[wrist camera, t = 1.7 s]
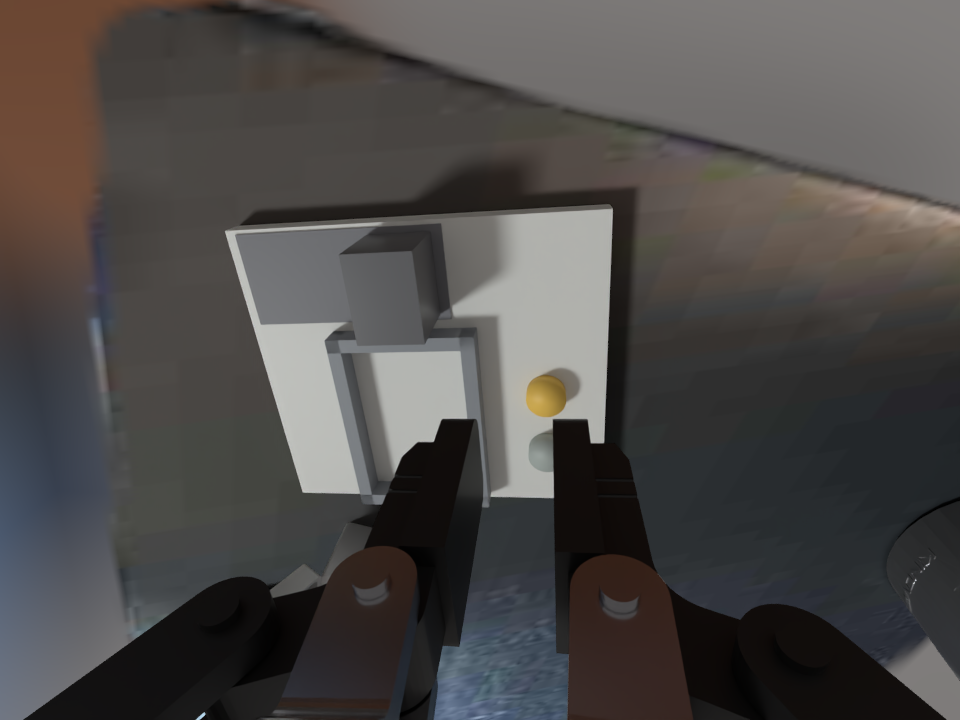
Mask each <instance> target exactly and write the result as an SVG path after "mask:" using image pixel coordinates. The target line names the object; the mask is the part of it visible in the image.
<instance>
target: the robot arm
mask: <svg viewBox="0 0 960 720" xmlns="http://www.w3.org/2000/svg"><path fill="white" fill-rule="evenodd" d="M553 473H554V533H555V592H556V652H557V653H562V654H569V663H568V712H567V720H946V719H945V718H944V717H943V716H941V715H940V714H939V713H938V712H937V711H935V710H934V709H933V708H932V707H931V706H929V705H928V704H927V703H926V702H925V701H923V700H922V699H921V698H920V697H919V696H917V695H916V694H915V693H914V692H912V691H911V690H910V689H909V688H908V687H906V686H905V685H904V684H903V683H902V682H900V681H899V680H898V679H897V678H896V677H894V676H893V675H892V674H891V673H890V672H888V671H887V670H886V669H885V668H884V667H882V666H881V665H880V664H879V663H878V662H876V661H875V660H874V659H873V658H871V657H870V656H869V655H868V654H867V653H865V652H864V651H863V650H862V649H861V648H859V647H858V646H857V645H856V644H855V643H853V642H852V641H851V640H850V639H849V638H847V637H846V636H845V635H844V634H842V633H841V632H840V631H839V630H838V629H836V628H835V627H834V626H832V625H831V624H830V623H828V622H827V621H825V620H823V619H822V618H820V617H818V616H816V615H814V614H812V613H810V612H808V611H805V610H803V609H800V608H797V607H793V606H789V605H782V604H766V605H761V606H758V607H755V608H753V609H751V610H750V611H748V612H747V613H746V614H745V615H744V616H743V617H742V618H741V620H739V619H736V618H733V617H730V616H727V615H724V614H720V613H717V612H714V611H711V610H708V609H705V608H703V607H700V606H697V605H695V604H693V603H691V602H689V601H687V600H685V599H684V598H682V597H681V596H679V595H678V594H676V593H675V592H674V591H673V590H672V589H670V588H669V587H668V586H667V584H666V583H665V582H664V581H663V579H662V578H661V577H660V576H659V575H658V573H657V571H656V569H655V567H654V564H653V561H652V557H651V552H650V548H649V544H648V539H647V535H646V531H645V526H644V522H643V518H642V513H641V509H640V505H639V500H638V499H637V492H636V487H635V483H634V481H633V474H632V470H631V466H630V462H629V459H628V458H627V457H626V456H625V454H624V453H623V452H622V451H621V450H620V449H619V448H618V447H617V445H616V444H615V443H591V440H590V433H589V425H588V419H553ZM394 475H395V477H394V478H393V479H392V482H391V484H390V486H389V489H388V493H387V494H386V496H385V499H384V501H383V503H382V506H381V508H380V511H379V513H378V515H377V518H376V520H375V523H374V525H373V527H372V530H371V532H370V535H369V537H368V539H367V542H366V544H365V547H364V549H363V550H360V551H358V552H356V553H354V554H352V555H351V556H349V557H348V558H346V559H345V560H344V561H342V562H341V563H340V564H339V565H338V566H337V567H336V568H335V570H334V571H333V573H332V574H331V576H330V578H329V580H328V582H327V583H326V584H324V585H321V586H319V587H315V588H312V589H308V590H304V591H300V592H295V593H291V594H287V595H283V596H279V597H274V598H273V597H272V595H271V592H270V590H269V588H268V586H267V585H266V584H265V583H264V582H262V581H261V580H259V579H256V578H253V577H235V578H230V579H227V580H223V581H221V582H218V583H216V584H214V585H212V586H210V587H208V588H206V589H205V590H203V591H202V592H200V593H199V594H197V595H196V596H195V597H193V598H192V599H190V600H189V601H188V602H186V603H185V604H183V605H182V606H181V607H179V608H178V609H176V610H175V611H174V612H172V613H171V614H169V615H168V616H167V617H165V618H164V619H163V620H161V621H160V622H158V623H157V624H156V625H154V626H153V627H151V628H150V629H149V630H147V631H146V632H144V633H143V634H142V635H140V636H139V637H138V638H136V639H135V640H133V641H132V642H131V643H129V644H128V645H126V646H125V647H124V648H122V649H121V650H119V651H118V652H117V653H115V654H114V655H113V656H111V657H110V658H108V659H107V660H106V661H104V662H103V663H101V664H100V665H99V666H98V667H96V668H95V669H93V670H92V671H90V672H89V673H88V674H86V675H85V676H83V677H82V678H81V679H79V680H78V681H76V682H75V683H74V684H72V685H71V686H69V687H68V688H67V689H65V690H64V691H63V692H61V693H60V694H59V695H57V696H56V697H54V698H53V699H52V700H50V701H49V702H48V703H46V704H45V705H43V706H42V707H40V708H39V709H38V710H36V711H35V712H33V713H32V714H31V715H29V716H28V717H27V718H25V719H24V720H196V719H197V718H198V717H199V716H200V715H201V714H202V713H204V712H205V714H206V715H205V716H204V717H203V718H202V719H200V720H434V713H435V706H436V699H437V690H438V683H437V672H438V667H439V662H440V656H441V651H442V646H457V647H459V645H460V639H461V633H462V626H463V620H464V614H465V608H466V602H467V596H468V590H469V584H470V577H471V571H472V565H473V559H474V553H475V547H476V541H477V535H478V528H479V522H480V516H481V510H482V503H483V471H482V460H481V450H480V439H479V429H478V422H477V420H476V419H442V420H441V422H440V425H439V428H438V431H437V434H436V437H435V440H434V442H417V443H416V444H415V445H414V446H413V447H412V448H411V449H410V450H409V451H408V452H406V453H405V454H404V455H403V456H402V458H401V460H400V462H399V465H398V467H397V470H396V472H395V474H394ZM886 568H887V576H888V579H889V581H890V583H891V585H892V587H893V588H894V590H895V591H896V593H897V594H898V595H899V597H900V598H901V600H902V601H903V602H904V604H905V605H906V606H907V608H908V609H909V611H910V612H911V613H912V615H913V616H914V618H915V619H916V620H917V622H918V623H919V625H920V626H921V627H922V629H923V630H924V632H925V633H926V634H927V636H928V637H929V639H930V640H931V641H932V643H933V644H934V645H935V647H936V649H937V650H938V652H939V653H940V654H941V656H942V657H943V658H944V660H945V661H946V662H947V664H948V665H949V667H950V668H951V669H952V671H953V672H954V674H955V675H956V677H957V678H958V679H959V681H960V501H957V502H955V503H952V504H949V505H947V506H944V507H942V508H939V509H937V510H935V511H933V512H932V513H930V514H928V515H926V516H924V517H922V518H921V519H919V520H918V521H917V522H915V523H914V524H913V525H912V526H910V527H909V528H908V529H906V531H905V532H904V533H903V534H902V535H901V536H900V537H899V538H898V539H897V541H896V542H895V544H894V545H893V547H892V549H891V551H890V553H889V556H888V560H887V565H886Z"/></svg>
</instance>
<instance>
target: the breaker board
mask: <svg viewBox="0 0 960 720" xmlns="http://www.w3.org/2000/svg"><path fill="white" fill-rule="evenodd" d="M612 220H613V208H612V207H611V205H610V204H602V205H585V206H568V207H550V208H533V209H516V210H499V211H482V212H465V213H448V214H431V215H414V216H396V217H379V218H362V219H345V220H328V221H311V222H294V223H277V224H260V225H242V226H237V227H234V228H232V229H229V230H226V231H225V233H226V236H227V239H228V243H229V246H230V249H231V253H232V256H233V259H234V263H235V266H236V269H237V273H238V276H239V280H240V283H241V286H242V290H243V293H244V296H245V300H246V303H247V306H248V310H249V313H250V316H251V320H252V323H253V326H254V330H255V333H256V337H257V340H258V343H259V347H260V350H261V353H262V357H263V360H264V363H265V367H266V370H267V373H268V377H269V380H270V384H271V387H272V390H273V394H274V397H275V400H276V404H277V407H278V410H279V414H280V417H281V420H282V424H283V427H284V431H285V434H286V437H287V441H288V444H289V447H290V451H291V454H292V457H293V461H294V464H295V467H296V471H297V474H298V478H299V481H300V484H301V488H302V491H303V492H304V493H350V494H360V495H361V500H362V504H382V503H383V501H384V499H385V496H386V494H387V493H388V489H389V486H390V484H391V482H392V479H393V478H394V477H395V475H394V474H395V472H396V470H397V467H398V465H399V462H400V460H401V458H402V456H403V455H404V454H405V453H406V452H408V451H409V450H410V449H411V448H412V447H413V446H414V445H415V444H416V443H417V442H434V440H435V437H436V434H437V431H438V428H439V425H440V422H441V420H442V419H476V420H477V422H478V429H479V439H480V450H481V460H482V471H483V503H482V507H489V504H490V497H532V498H554V473H553V419H588V425H589V433H590V440H591V443H604V432H605V406H606V379H607V353H608V326H609V300H610V273H611V247H612ZM426 231H430V232H431V240H432V248H433V257H434V265H435V273H436V282H437V290H438V298H439V307H440V316H439V318H438V320H437V322H436V324H435V326H434V328H433V330H432V332H431V334H430V335H429V337H428V339H427V341H426V343H425V345H378V346H357V343H356V338H355V333H354V328H353V323H352V318H351V313H350V308H349V303H348V298H347V294H346V289H345V284H344V279H343V274H342V269H341V264H340V259H339V254H340V253H342V252H343V251H344V250H346V249H347V248H349V247H350V246H351V245H353V244H354V243H356V242H357V241H358V240H360V239H361V238H363V237H364V236H366V235H370V234H389V233H408V232H426Z"/></svg>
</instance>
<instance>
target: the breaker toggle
mask: <svg viewBox="0 0 960 720" xmlns="http://www.w3.org/2000/svg"><path fill="white" fill-rule="evenodd" d="M339 259H340V264H341V269H342V274H343V279H344V284H345V289H346V294H347V298H348V303H349V308H350V313H351V318H352V323H353V328H354V333H355V338H356V343H357V346H378V345H425V343H426V341H427V339H428V337H429V335H430V334H431V332H432V330H433V328H434V326H435V324H436V322H437V320H438V318H439V316H440V307H439V298H438V290H437V282H436V273H435V265H434V257H433V248H432V240H431V232H430V231H426V232H408V233H389V234H370V235H366V236H364V237H363V238H361V239H360V240H358V241H357V242H356V243H354V244H353V245H351V246H350V247H349V248H347V249H346V250H344V251H343V252H342V253H340V254H339Z"/></svg>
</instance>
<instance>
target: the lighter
mask: <svg viewBox="0 0 960 720" xmlns="http://www.w3.org/2000/svg"><path fill="white" fill-rule="evenodd" d="M371 530H372V527H368V526H364V525H359V524H355V523H351V522H349V523H347V524H346V526H345V528H344V530H343V532H342V534H341V536H340V538H339V541H338V543H337V545H336V547H335V549H334V551H333V553H332V555H331V557H330V559H329V561H328V563H327V565H326V568H325V570H324V572H323V574H322V576H320V575H319V574H318V573H316V572H315V571H314V570H313V569H312V568H310V567H309V566H308V565H307V564H303V565H302V566H301V567H299V568H298V569H297V570H295V571H294V572H293V573H291V574H290V575H289V576H288V577H286V578H285V579H284V580H282V581H281V582H280V583H279V584H277V585H276V586H275V587H273V588H272V589H271V590H270V592H271V595H272V597H273V598H274V597H279V596H283V595H287V594H291V593H295V592H300V591H304V590H308V589H312V588H315V587H319V586H321V585H324V584H326V583H327V582H328V580H329V578H330V576H331V574H332V573H333V571H334V570H335V568H336V567H337V566H338V565H339V564H340V563H341V562H342V561H344V560H345V559H346V558H348V557H349V556H351V555H352V554H354V553H356V552H358V551H360V550H363V549H364V547H365V544H366V542H367V539H368V537H369V535H370V532H371Z"/></svg>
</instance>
